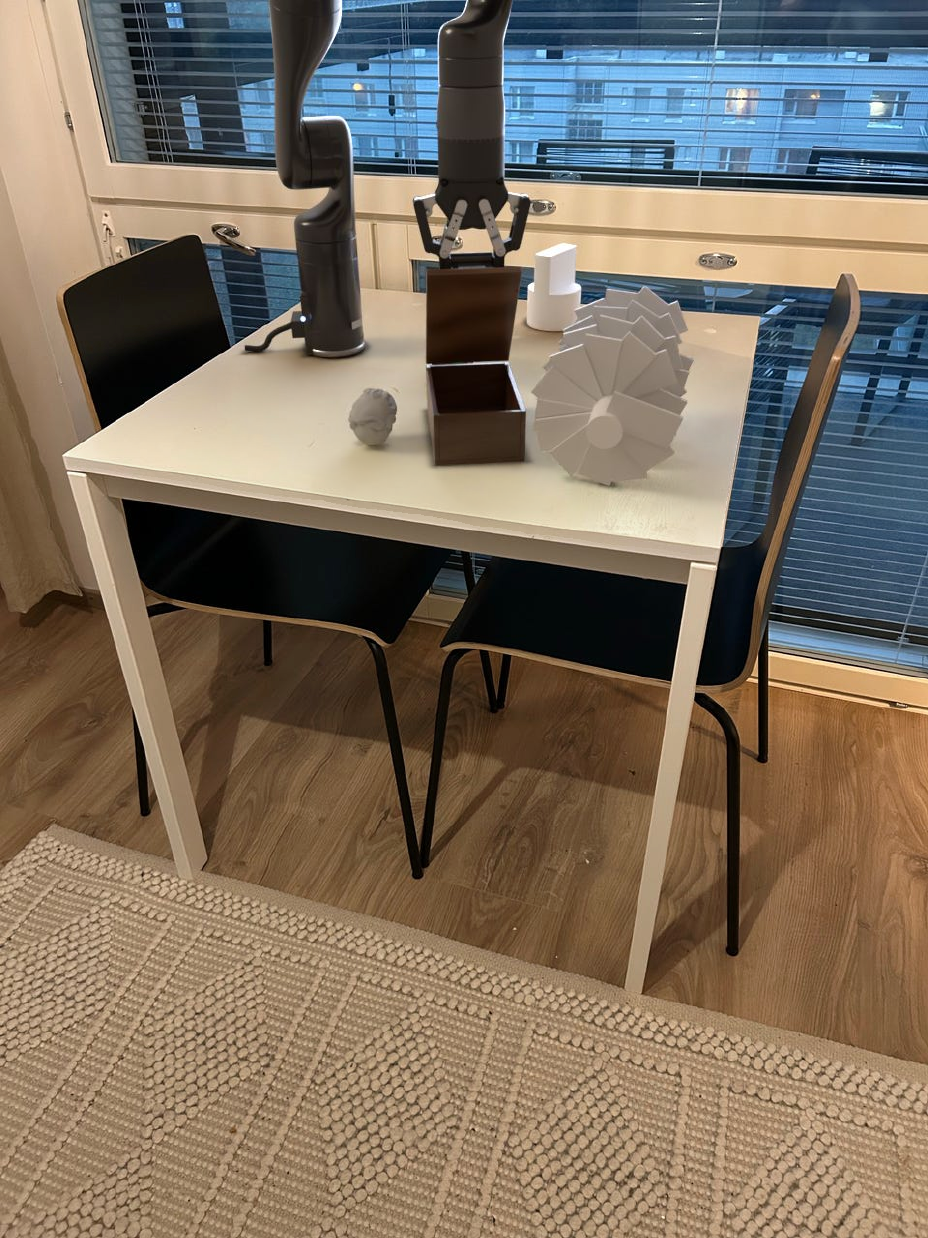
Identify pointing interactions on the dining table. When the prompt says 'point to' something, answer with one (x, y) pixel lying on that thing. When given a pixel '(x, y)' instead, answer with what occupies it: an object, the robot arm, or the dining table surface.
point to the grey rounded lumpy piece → (373, 416)
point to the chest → (475, 414)
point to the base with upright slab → (554, 289)
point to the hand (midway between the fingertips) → (471, 286)
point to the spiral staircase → (614, 388)
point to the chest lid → (470, 310)
